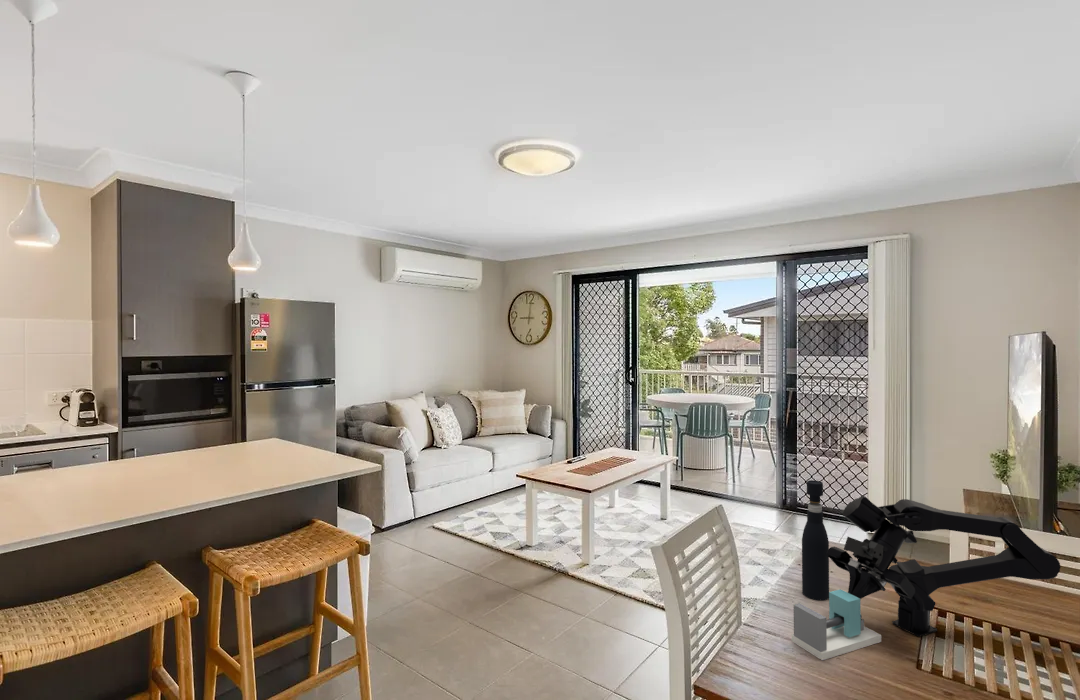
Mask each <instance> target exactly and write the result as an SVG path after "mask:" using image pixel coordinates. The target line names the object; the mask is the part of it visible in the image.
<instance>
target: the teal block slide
mask: <svg viewBox="0 0 1080 700" xmlns="http://www.w3.org/2000/svg"><path fill="white" fill-rule="evenodd" d="M841 624H844V617H843V616H839V617H835V618H832V619H829V618H828V619H827V616H825V615H822V614H821V613H819V612H817V611H815V610H813V609H812V608H811V607H807V606H806V605H804V604H802V603H801V602H798V603H795V604H793V633H792V634H791V642H792V643H794V644H795V645H797V646H799V647H800V648H801V649H803V650H805V651H807V652H808V653H810V654H811V655H813V656H814V657H816V658H817V659H820V660H821V661H825V660H828V659H831V658H835V657H838V656H840V655H844V654H848V653H850V652H853V651H857V650H859V649H862V648H866V647H870V646H871V645H875V644H878V643H882V634H880V633H878V632H876V631H875V630H873V629H870V628H868V627H867V626H865V620H864V619H863V618H862V615H861V634H859V635H855V636H852V637H848V636H846V635H844V626H843V627H839V628H836V629H833V628H831V627H834V626H838V625H841Z"/></svg>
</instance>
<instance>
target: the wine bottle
mask: <svg viewBox="0 0 1080 700" xmlns="http://www.w3.org/2000/svg"><path fill="white" fill-rule="evenodd" d="M806 494H807V495H808V496H809V500H808V501H809V502H808V504H807V506H808V507H807V511H806V518H807V519H806V522H805V525H804V528H803V530H802V536H801V537H802V538H801V586H802V587H801V589H802V590H801V591H802V592H801V593H802V595H803V596H804V597H805V598H808V599H811V600H815V601H827V600H829V592H830V558H829V557H828V555H827V554H826V553H827V551H828V550H829V548H830V547H829V546H830V545H829V544H830V542H829V536H828V532H827V530H826V526H825V524H824V512H823V509H822V508H823V506H822V504H821V497H823V496H824V483H823V482H822V481H820V480H807V481H806Z"/></svg>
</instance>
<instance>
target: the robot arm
mask: <svg viewBox="0 0 1080 700" xmlns="http://www.w3.org/2000/svg"><path fill="white" fill-rule="evenodd" d="M842 516H843V517H844V518H845V519H847V520H848V521H850V522H851V523H852V524H853V525H854V526H856V527H858V528H859V529H860V530H861V531H862V532H865V533H868V532H870V533H873V532H874V533H873V534H872V536H871V538H870V539H869V538H865V539H863V541H862V540H861V541H860V540H859V539H856V538H852V537H850V536H847V537H846V541H845V544H844V547H843V549H842V548H839V547H837V546H831V547H829V550H828V551H827V553H826V554H827V555H828V557H829V560H831V561H832V562H833V564H835V566H837V567H838V568H839V569H841V570H844V571H846V572H848V573H849V584H848V588H847V589H848V590H847V593H849V594H852V595H854V596H856V597H858V598H860V600H862V599H864V598H866V597H868V596H869V595H872V594H875V593H877V592H880V591H883V592H885V591H886V588H885V586H886V584H887V583H888V584H889V585H890V586H891V587H892V589H893V590H894V592H895V593H896V594H897V595H898V596H899V600H898V607H897V619H895V620H892V621H891V623H892V625H894V626H897V627H899V628H900V629H902V630H905V632H909V633H910V634H912V635H914V636H917V637H923V636H926V635H930V634H932V633H935V632H938V629H937V627H934V626H932V625H931V612H933V610H934V608H935V606H936V601H935V600H934V599H933V598H932V597H931V596H930V595H931V594H933V593H934V592H935V591H937V590H938V589H940V588H945V587H946V588H947V587H952V586H958V585H959V586H960V585H965V584H971V583H978V582H979V583H980V582H983V581H991V580H996V579H1003V578H1009V577H1011V578H1017V579H1018V578H1019V579H1025V580H1052V579H1055V578H1056V577H1058V575H1059V573H1060V570H1061V562H1060V561H1059V559H1058V558H1057V557H1056V556H1055V555H1053V554H1052V553H1050V552H1048V551H1047V550H1045V548H1042V547H1041V546H1039V545H1038V544H1037V543H1036V542H1034V541H1033V540H1032V539H1031V538H1030V537H1029V536H1028V535H1027V534H1026V533H1025V532H1024V531H1023V530H1022V529H1021V527H1020V526H1019V525H1018V524H1017V523H1015V522H1013V521H1012V520H1010V519H1008V518H1007V517H1001V516H1000V517H995V516H987V515H981V514H980V515H979V514H974V513H973V514H972V513H966V512H959V511H952V510H945V509H939V508H936V507H933V506H930V505H927V504H925V503H923V502H922V503H921V502H918V501H915V500H912V499H907V498H906V499H905V498H902V499H899V501H897V502H896V503H894V504H892V503H891V504H888V505H881V506H880V505H879V506H877V505H876V504H875V503H873V502H872V501H870V499H869V498H867V496H865V495H864V494H862V495H860V497H857V498H855V499H853V500H851V501H849V503H848V504H847V505H846V506H845V508H844V509H843V511H842ZM905 528H906V529H907V530H906V529H905ZM937 530H944V531H945V530H947V531H952V532H953V531H954V532H960V533H967V534H973V535H980V536H987V537H992V538H1000V539H1002V541H1003V542H1004V544H1005V545H1006V546H1007V547H1006V548H1005V549H1003V550H1002V551H1001V552H999V553H998V554H994V555H989V556H988V555H987V556H983V557H978V558H977V557H976V558H971V559H966V560H959V561H952V562H949V563H948V562H947V563H942V564H935V565H930V566H929V565H928V566H927V565H926V566H925V565H921V564H920V563H919V562H918V561H917V560H916V559H913V558H912V559H909V560H906V561H898V559H897V558H896V556H897V554H898V553H899V552H900V551H899V550H901V548H902V546H903V545H904V543H906V544H917V542H918V541H917V538H916V536H915V534H914V532H934V531H937ZM848 551H849V552H851V553H852V556H853V557H854V558H855V559H854V558H853V557H852V556H851V555H850V554H849V552H848ZM856 559H857V560H856ZM891 564H893V565H891Z"/></svg>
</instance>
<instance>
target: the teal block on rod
mask: <svg viewBox="0 0 1080 700" xmlns="http://www.w3.org/2000/svg"><path fill="white" fill-rule="evenodd" d="M828 601H829V602H828V608H829V609H828V610H829V611H828V613H829V614H828V615H829V618H828V619H832V618H835V617H839V616H843V617H844V624H841V625H838V626H834V627H831V628H833V629H836V628H839V627H843V626H844V635H846V636H848V637H852V636H855V635H859V634H861V619H862V618H861V616H862V614H861V612H862V611H861V599H860V598H858V597H856V596H854V595H852V594H849V593H848V591H845V590H843V589H835V590H833V591H829V599H828Z"/></svg>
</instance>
